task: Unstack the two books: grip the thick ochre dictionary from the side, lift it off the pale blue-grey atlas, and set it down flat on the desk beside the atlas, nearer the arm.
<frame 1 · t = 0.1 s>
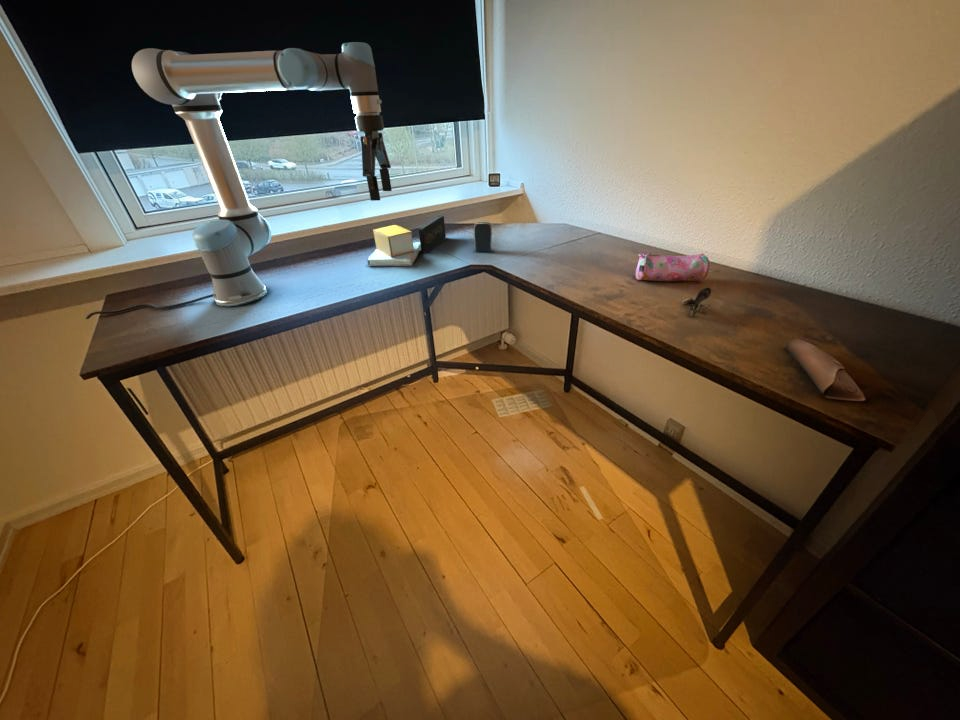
hand: (381, 195, 118), 28 cm above the table, tool pointing down, fingers open, 13 cm apart
battery charger: (483, 251, 156), on the table
sunglasses case: (820, 374, 83), on the table
pencil case: (666, 280, 126), on the table
nameplate: (434, 245, 164), on the table
eagle figurine: (693, 311, 108), on the table
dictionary: (395, 250, 152), point 3 cm above the table, touching atlas
atlas: (396, 256, 153), on the table, touching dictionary
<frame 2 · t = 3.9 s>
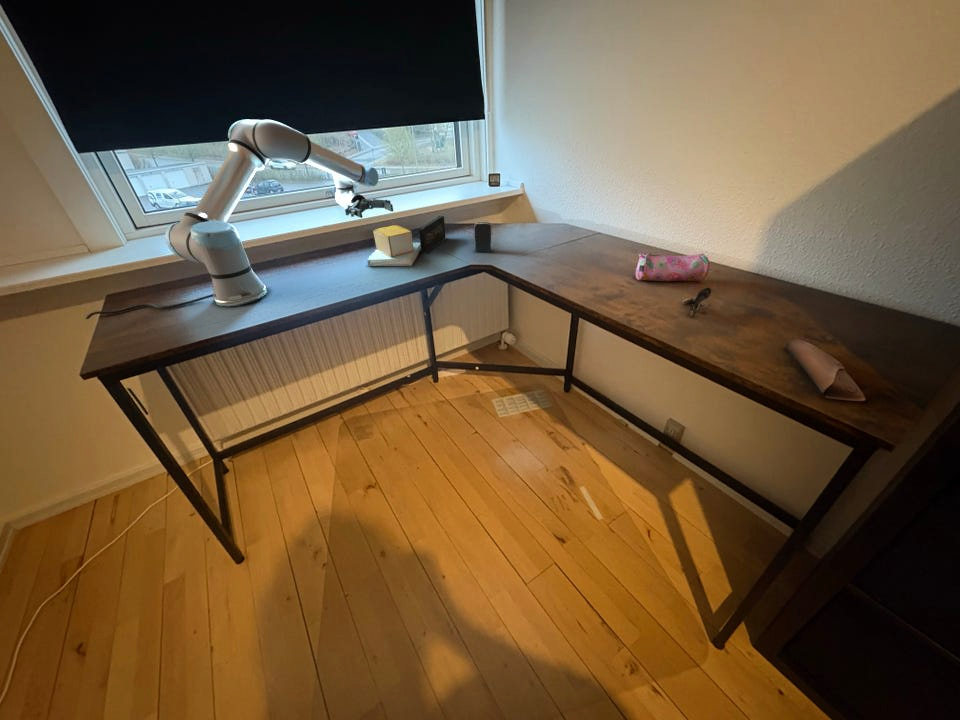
hand: (376, 211, 152), 16 cm above the table, tool horizontal, fingers open, 13 cm apart
nothing on the table moved.
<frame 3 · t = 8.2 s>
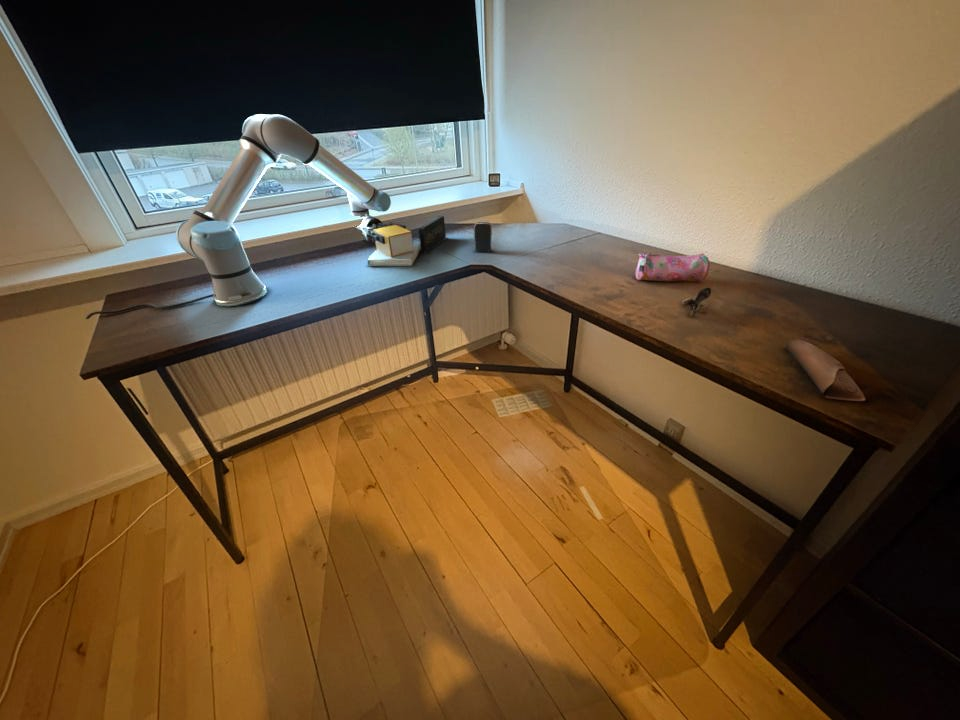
hand: (396, 237, 147), 9 cm above the table, tool horizontal, fingers closed on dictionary, 10 cm apart
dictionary: (395, 250, 152), point 3 cm above the table, touching atlas, gripper
everything else where it was.
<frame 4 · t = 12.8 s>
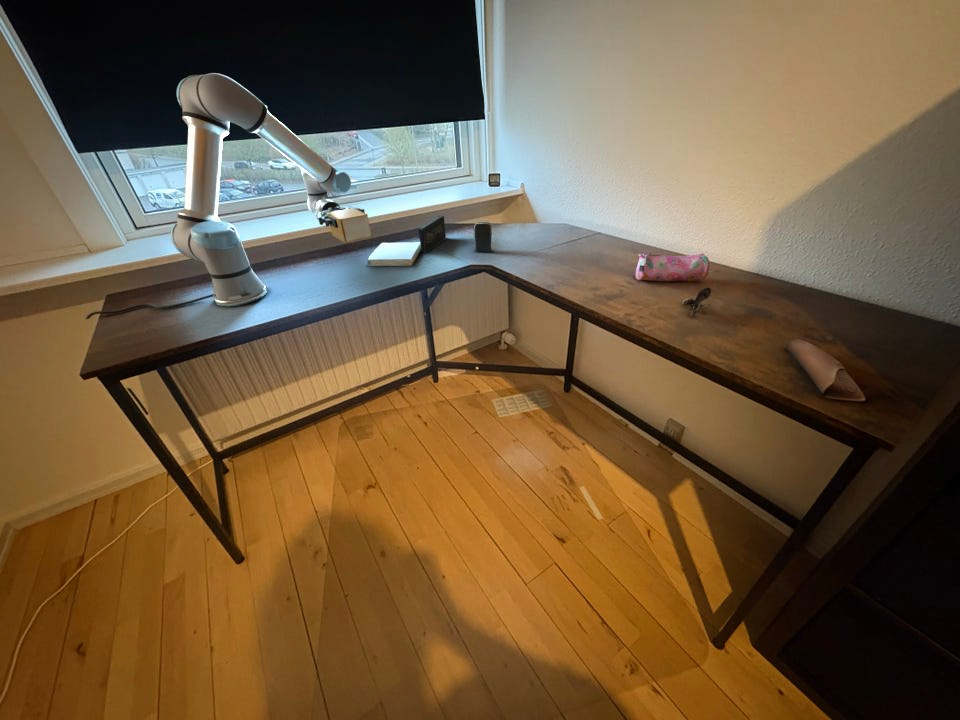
hand: (350, 220, 133), 18 cm above the table, tool horizontal, fingers closed on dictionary, 10 cm apart
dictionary: (351, 236, 139), point 12 cm above the table, touching gripper
atlas: (396, 256, 153), on the table
everything else where it was.
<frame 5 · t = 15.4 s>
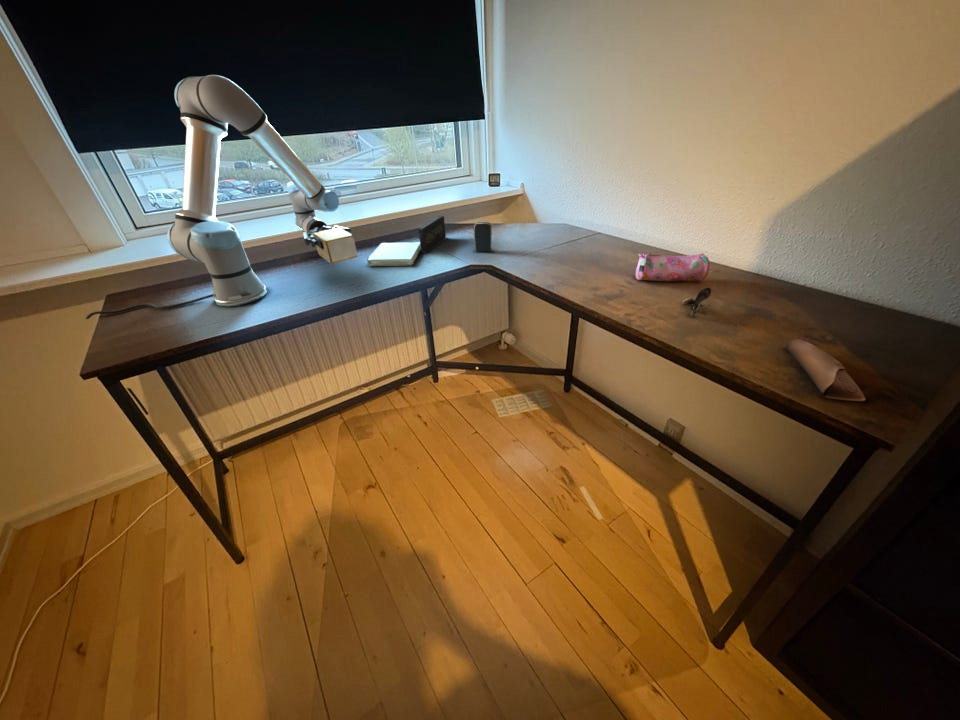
hand: (336, 241, 133), 12 cm above the table, tool horizontal, fingers closed on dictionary, 10 cm apart
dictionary: (338, 255, 139), point 6 cm above the table, touching gripper
everything else where it was.
when the fingers open (6 cm above the table, at t = 17.6 s): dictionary stays where it is, on the table.
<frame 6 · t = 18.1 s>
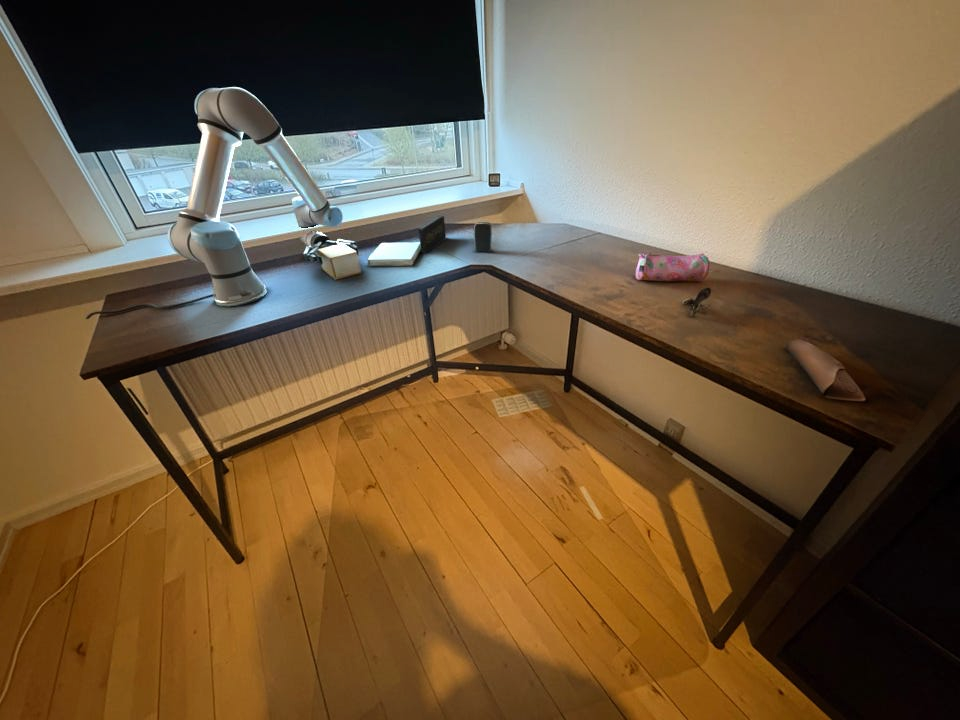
hand: (339, 255, 137), 6 cm above the table, tool horizontal, fingers open, 13 cm apart
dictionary: (341, 271, 142), on the table
everything else where it was.
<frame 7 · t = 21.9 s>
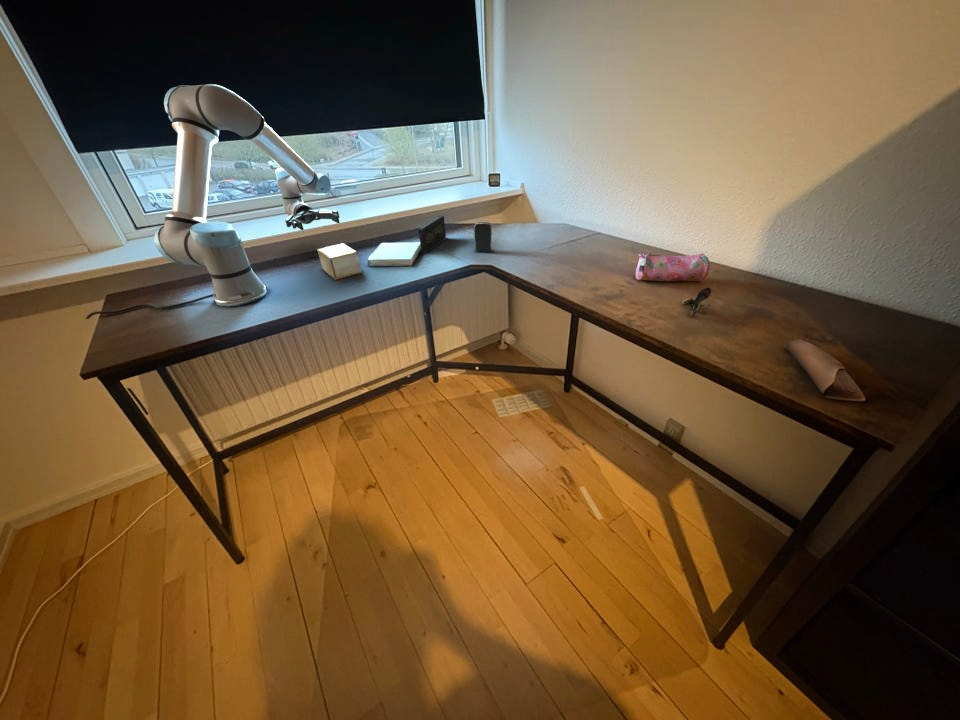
hand: (320, 222, 140), 16 cm above the table, tool horizontal, fingers open, 13 cm apart
nothing on the table moved.
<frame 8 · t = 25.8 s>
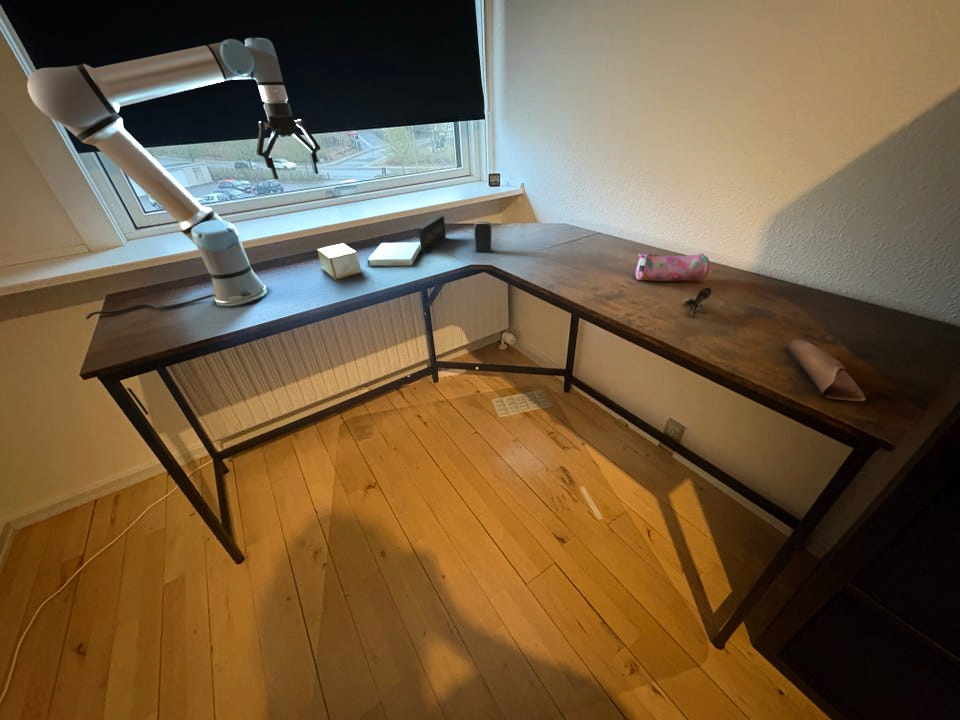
hand: (296, 176, 131), 32 cm above the table, tool pointing down, fingers open, 13 cm apart
nothing on the table moved.
at the end: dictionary inside the target area (0.1 cm from its centre), on the table; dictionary tilted 0°; atlas moved 0.0 cm from its start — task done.
